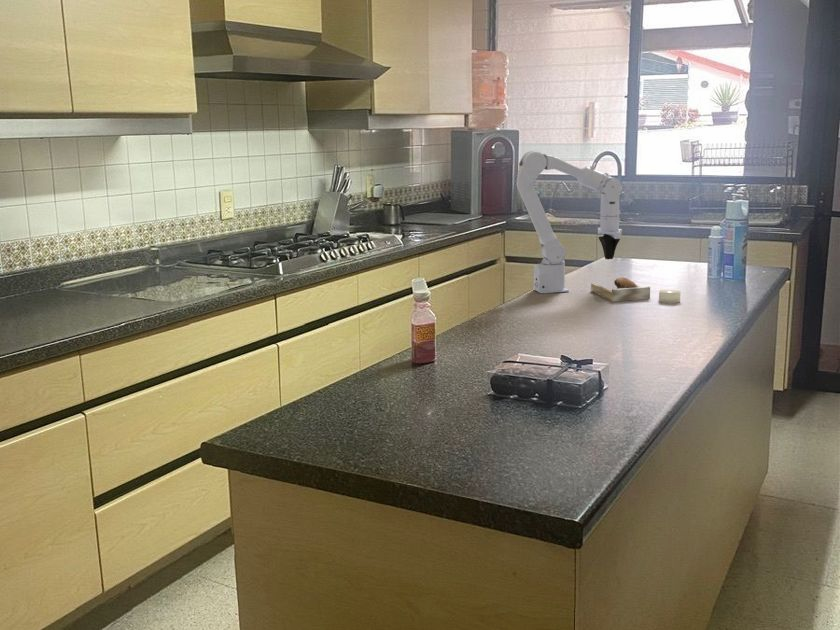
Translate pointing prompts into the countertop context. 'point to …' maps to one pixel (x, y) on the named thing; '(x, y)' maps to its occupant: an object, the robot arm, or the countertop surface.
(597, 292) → the guide fence
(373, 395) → the countertop surface
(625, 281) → the mushroom
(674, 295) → the soap bar
